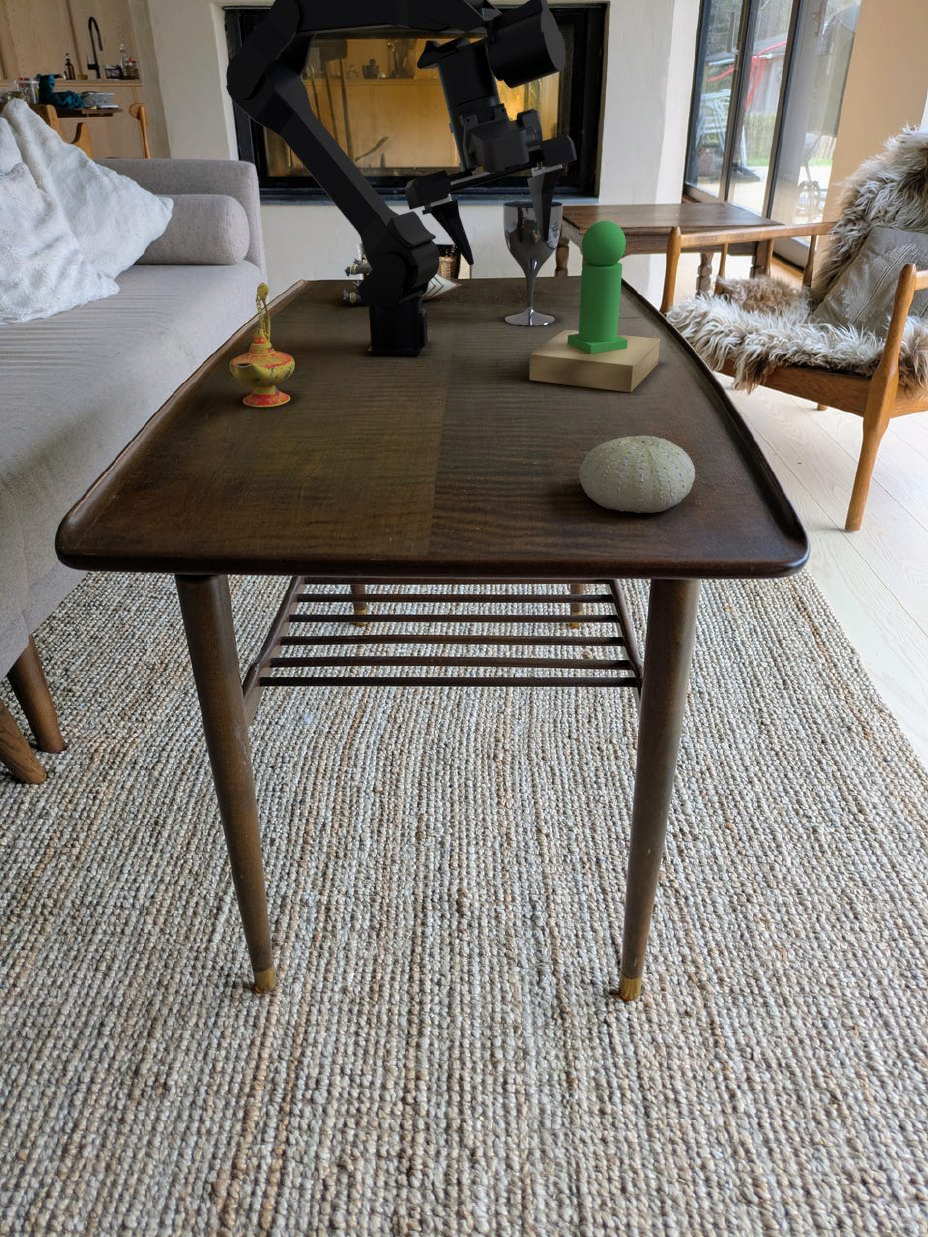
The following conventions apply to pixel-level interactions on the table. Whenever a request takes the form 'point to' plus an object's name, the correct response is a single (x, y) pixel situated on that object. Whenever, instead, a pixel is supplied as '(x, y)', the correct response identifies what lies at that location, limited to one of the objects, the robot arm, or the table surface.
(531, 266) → the wine glass
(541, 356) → the wooden block
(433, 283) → the figurine
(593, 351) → the green toy
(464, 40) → the robot arm
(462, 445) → the table surface
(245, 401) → the magic lamp
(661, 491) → the sea urchin shell
